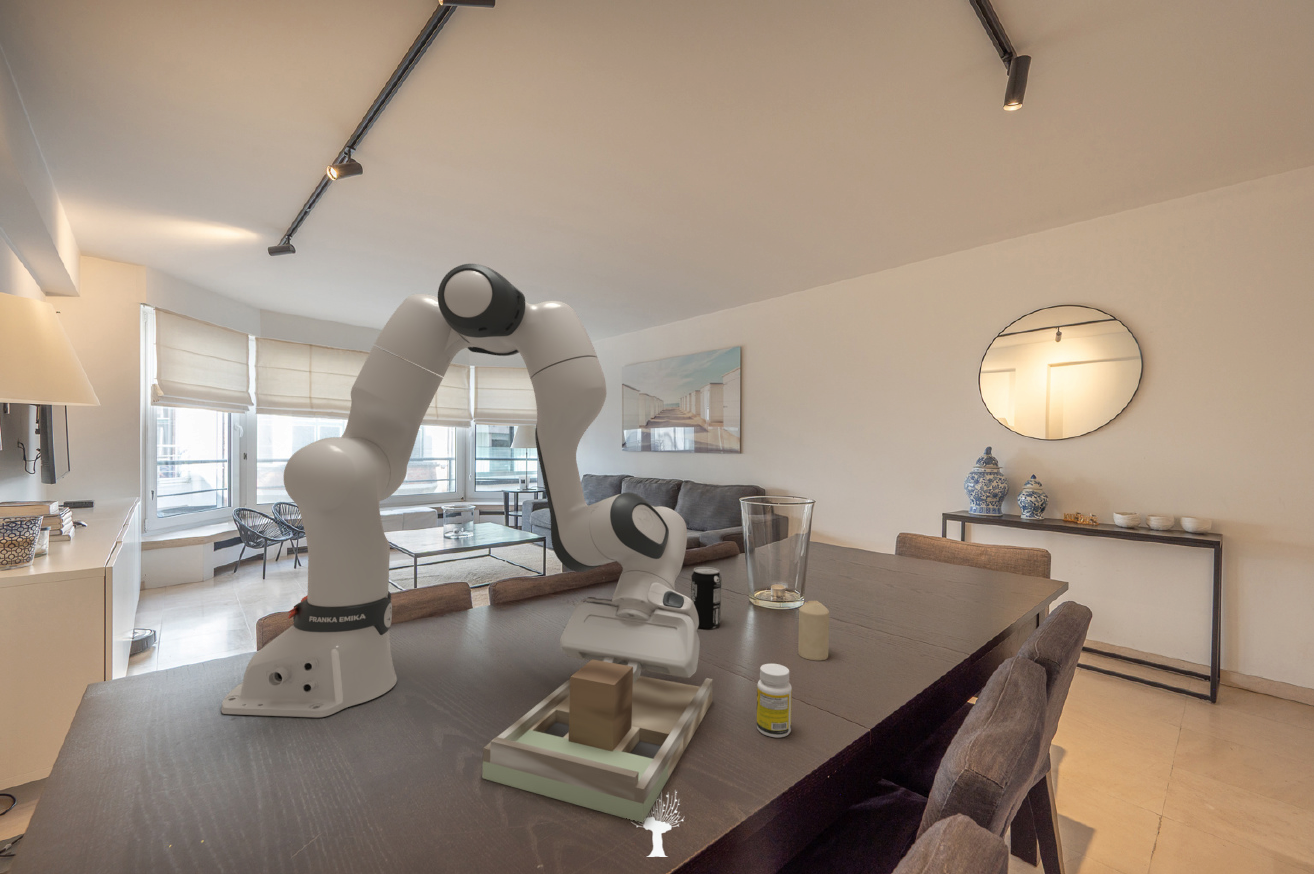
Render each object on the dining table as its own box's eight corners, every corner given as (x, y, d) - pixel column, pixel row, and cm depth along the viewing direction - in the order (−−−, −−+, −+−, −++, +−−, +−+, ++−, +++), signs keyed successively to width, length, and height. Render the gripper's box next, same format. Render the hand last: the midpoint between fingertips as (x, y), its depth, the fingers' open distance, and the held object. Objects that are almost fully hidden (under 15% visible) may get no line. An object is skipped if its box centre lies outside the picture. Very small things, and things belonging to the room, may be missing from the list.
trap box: (594, 679, 91) (595, 652, 91) (712, 702, 84) (712, 672, 84) (482, 778, 64) (483, 739, 64) (642, 823, 57) (643, 779, 57)
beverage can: (685, 621, 123) (687, 567, 123) (713, 619, 125) (714, 565, 125) (696, 630, 116) (698, 574, 116) (725, 628, 118) (726, 572, 118)
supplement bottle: (766, 717, 80) (767, 659, 80) (796, 728, 77) (798, 668, 77) (749, 730, 76) (751, 669, 76) (781, 742, 73) (782, 679, 74)
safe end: (521, 743, 71) (522, 727, 72) (667, 779, 65) (668, 762, 65) (482, 778, 64) (482, 760, 64) (642, 823, 57) (643, 803, 57)
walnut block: (590, 718, 74) (591, 659, 74) (631, 727, 72) (633, 666, 72) (568, 741, 69) (570, 676, 69) (612, 751, 67) (614, 685, 67)
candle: (829, 662, 101) (831, 607, 101) (798, 659, 102) (800, 605, 102) (826, 651, 107) (827, 599, 107) (797, 648, 108) (798, 597, 108)
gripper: (573, 584, 85) (537, 672, 75) (702, 600, 78) (679, 700, 69) (586, 605, 89) (553, 692, 80) (709, 623, 82) (689, 719, 73)
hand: (612, 696), depth 74 cm, fingers closed
